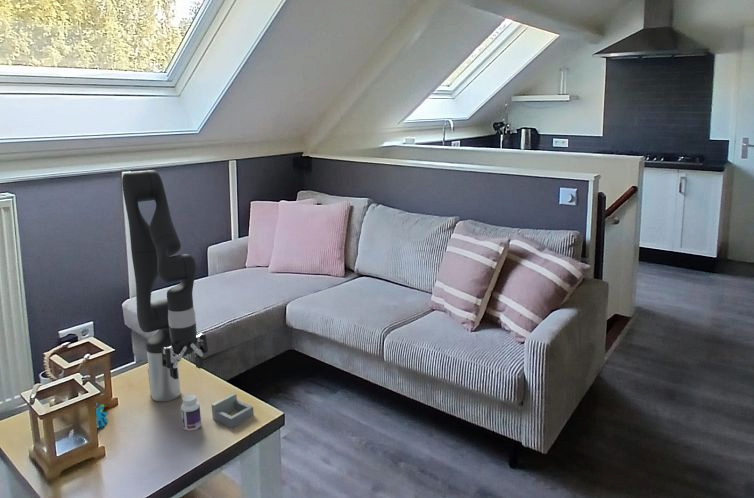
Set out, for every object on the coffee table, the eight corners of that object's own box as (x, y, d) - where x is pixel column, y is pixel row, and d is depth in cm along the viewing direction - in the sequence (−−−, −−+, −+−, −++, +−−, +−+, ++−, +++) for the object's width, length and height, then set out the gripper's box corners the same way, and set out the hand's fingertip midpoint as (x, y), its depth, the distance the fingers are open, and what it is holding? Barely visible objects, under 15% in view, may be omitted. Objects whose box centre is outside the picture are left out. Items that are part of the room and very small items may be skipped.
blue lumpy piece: (95, 431, 183) (72, 406, 183) (83, 443, 184) (60, 418, 184) (117, 416, 193) (95, 393, 194) (105, 428, 195) (83, 405, 195)
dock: (212, 418, 192) (211, 404, 191) (234, 406, 199) (233, 392, 198) (231, 427, 187) (230, 413, 186) (253, 415, 194) (252, 401, 192)
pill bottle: (204, 423, 189) (202, 394, 187) (194, 432, 185) (191, 403, 182) (190, 420, 191) (187, 392, 189) (179, 429, 186) (176, 400, 184)
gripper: (194, 312, 187) (198, 361, 191) (153, 326, 176) (158, 378, 180) (210, 317, 182) (214, 367, 187) (169, 332, 171) (174, 385, 176)
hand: (187, 373), depth 183 cm, fingers open, 8 cm apart
